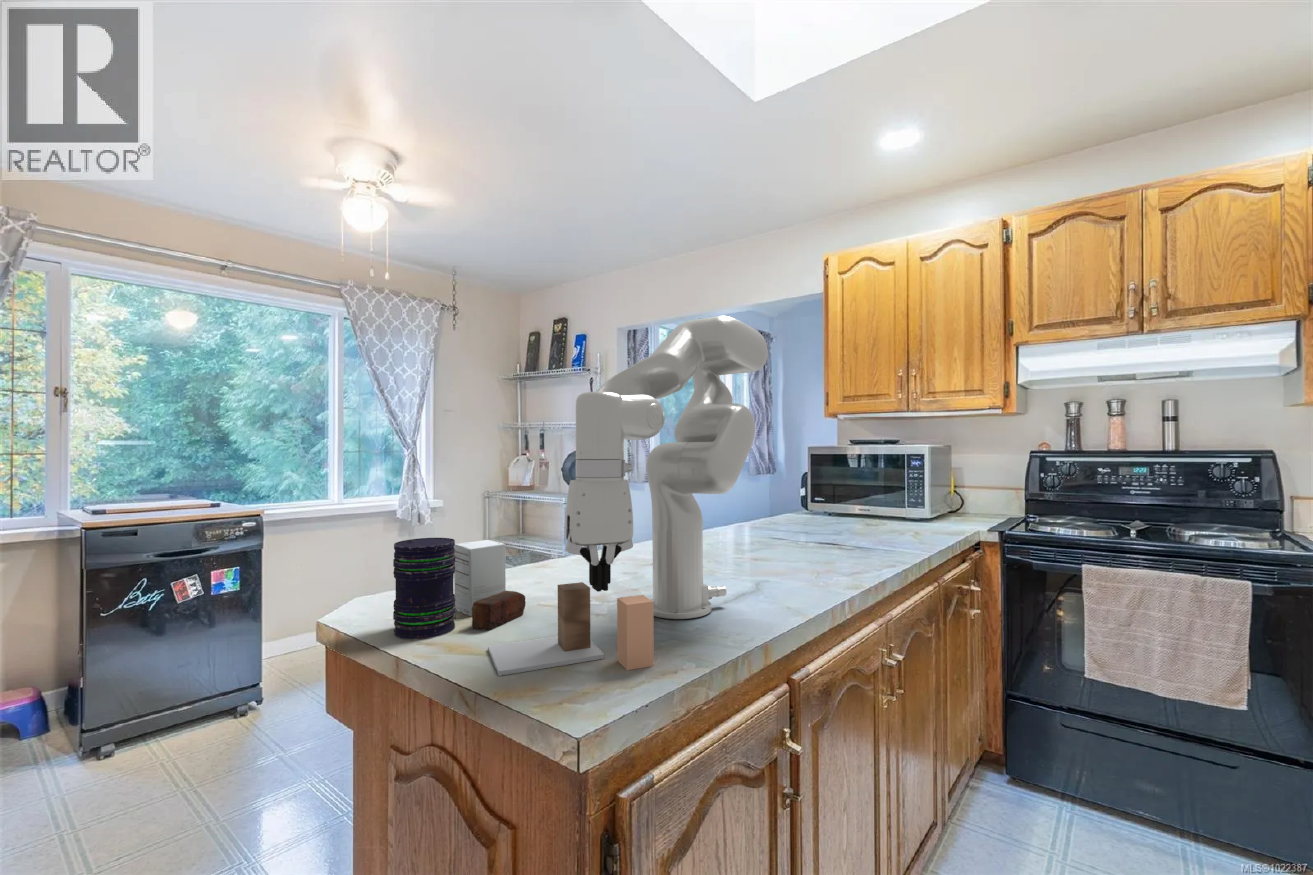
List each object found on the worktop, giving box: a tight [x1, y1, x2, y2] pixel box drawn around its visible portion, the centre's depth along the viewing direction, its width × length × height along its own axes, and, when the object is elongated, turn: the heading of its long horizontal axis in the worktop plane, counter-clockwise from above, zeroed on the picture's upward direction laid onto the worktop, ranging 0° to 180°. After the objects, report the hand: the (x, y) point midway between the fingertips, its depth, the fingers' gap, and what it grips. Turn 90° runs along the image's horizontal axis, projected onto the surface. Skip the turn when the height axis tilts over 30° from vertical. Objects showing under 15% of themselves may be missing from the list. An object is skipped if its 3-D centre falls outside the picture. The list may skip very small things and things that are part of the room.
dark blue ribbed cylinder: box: [392, 537, 457, 641], centre depth 97 cm, size 10×10×15 cm
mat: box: [487, 635, 605, 677], centre depth 85 cm, size 15×11×1 cm
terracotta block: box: [616, 594, 655, 671], centre depth 82 cm, size 4×4×9 cm
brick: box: [471, 590, 526, 631], centre depth 102 cm, size 11×4×5 cm, turn 159°
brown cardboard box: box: [557, 581, 592, 652], centre depth 87 cm, size 4×4×9 cm
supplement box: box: [453, 539, 507, 618], centre depth 110 cm, size 7×7×13 cm
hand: (599, 589), depth 89 cm, fingers closed
